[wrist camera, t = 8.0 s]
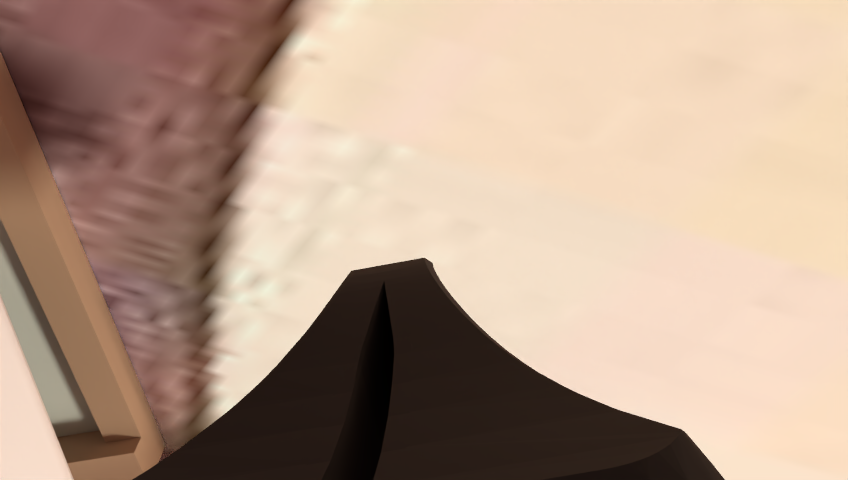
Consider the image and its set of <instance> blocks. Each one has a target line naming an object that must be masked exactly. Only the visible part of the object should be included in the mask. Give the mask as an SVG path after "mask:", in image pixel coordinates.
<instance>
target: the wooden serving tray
mask: <svg viewBox="0 0 848 480" xmlns="http://www.w3.org/2000/svg"><path fill="white" fill-rule="evenodd" d="M0 295H1V297H2V300H3V303H4V305H5V308H6V310H7V313H8V315H9V318H10V320H11V323H12V325H13V328H14V330H15V333H16V335H17V338H18V340H19V343H20V345H21V348H22V350H23V353H24V355H25V358H26V361H27V363H28V366H29V368H30V371H31V373H32V376H33V378H34V381H35V383H36V386H37V388H38V391H39V393H40V396H41V398H42V401H43V403H44V406H45V408H46V411H47V413H48V416H49V419H50V421H51V424H52V426H53V429H54V431H55V434H56V436H57V439H58V441H59V444H60V446H61V449H62V451H63V454H64V456H65V459H66V461H67V464H68V466H69V469H70V471H71V474H72V477H73V479H74V480H132V479H134V478H136V477H137V476H139V475H140V474H142V473H144V472H145V471H147V470H149V469H150V468H152V467H153V466H155V465H156V464H158V463H159V460H160V458H161V455H162V453H163V450H164V448H165V446H166V445H165V442H164V440H163V437H162V435H161V433H160V430H159V428H158V426H157V423H156V421H155V418H154V416H153V414H152V411H151V409H150V407H149V404H148V402H147V399H146V397H145V395H144V392H143V390H142V388H141V385H140V383H139V380H138V378H137V376H136V373H135V371H134V368H133V366H132V364H131V361H130V359H129V357H128V354H127V352H126V349H125V347H124V345H123V342H122V340H121V338H120V335H119V333H118V330H117V328H116V326H115V323H114V321H113V318H112V316H111V314H110V311H109V309H108V307H107V304H106V302H105V299H104V297H103V295H102V292H101V290H100V288H99V285H98V283H97V280H96V278H95V276H94V273H93V271H92V269H91V266H90V264H89V261H88V259H87V257H86V254H85V252H84V249H83V247H82V245H81V242H80V240H79V238H78V235H77V233H76V230H75V228H74V226H73V223H72V221H71V219H70V216H69V214H68V211H67V209H66V207H65V204H64V202H63V199H62V197H61V195H60V192H59V190H58V188H57V185H56V183H55V180H54V178H53V176H52V173H51V171H50V169H49V166H48V164H47V161H46V159H45V157H44V154H43V152H42V149H41V147H40V145H39V142H38V140H37V138H36V135H35V133H34V130H33V128H32V126H31V123H30V121H29V119H28V116H27V114H26V111H25V109H24V107H23V104H22V102H21V100H20V97H19V95H18V92H17V90H16V88H15V85H14V83H13V80H12V78H11V76H10V73H9V71H8V69H7V66H6V64H5V61H4V59H3V57H2V54H1V52H0Z"/></svg>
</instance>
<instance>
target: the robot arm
mask: <svg viewBox="0 0 848 480" xmlns="http://www.w3.org/2000/svg"><path fill="white" fill-rule="evenodd" d="M132 480H724V478H723V477H722V476H721V474H720V473H719V472H718V471H717V469H716V468H715V467H714V466H713V464H712V463H711V462H710V461H709V460H708V458H707V457H706V456H705V455H704V454H703V453H702V451H701V450H700V449H699V448H698V447H697V445H696V444H695V443H694V442H693V441H692V440H691V438H690V437H689V436H688V435H687V434H686V433H685V432H684V431H683V430H681V429H678V428H675V427H672V426H669V425H665V424H662V423H659V422H656V421H652V420H649V419H646V418H643V417H639V416H636V415H633V414H629V413H626V412H623V411H620V410H617V409H614V408H612V407H609V406H607V405H604V404H602V403H600V402H597V401H595V400H592V399H590V398H588V397H585V396H583V395H580V394H578V393H576V392H574V391H572V390H570V389H568V388H566V387H564V386H562V385H560V384H558V383H557V382H555V381H553V380H551V379H549V378H547V377H546V376H544V375H542V374H540V373H538V372H537V371H535V370H534V369H532V368H531V367H529V366H527V365H526V364H524V363H523V362H522V361H520V360H519V359H518V358H516V357H515V356H513V355H512V354H511V353H509V352H508V351H507V350H505V349H504V348H503V347H502V346H501V345H499V344H498V343H497V342H496V341H495V340H494V339H492V338H491V337H490V336H489V335H488V334H487V333H486V332H485V331H484V330H483V329H482V328H480V327H479V326H478V325H477V324H476V323H475V322H474V321H473V320H472V319H471V318H470V317H469V316H468V314H467V313H466V312H465V311H464V310H463V309H462V308H461V306H460V305H459V304H458V303H457V302H456V301H455V300H454V298H453V297H452V296H451V295H450V293H449V292H448V291H447V289H446V288H445V287H444V285H443V284H442V282H441V281H440V279H439V277H438V276H437V274H436V272H435V270H434V268H433V263H432V262H430V261H429V260H427V259H426V258H421V259H415V260H409V261H404V262H398V263H393V264H387V265H381V266H376V267H370V268H365V269H359V270H353V271H351V272H350V273H349V275H348V276H347V277H346V279H345V280H344V281H343V283H342V284H341V285H340V287H339V288H338V290H337V291H336V292H335V294H334V295H333V297H332V298H331V299H330V301H329V302H328V304H327V305H326V306H325V308H324V309H323V310H322V312H321V313H320V315H319V316H318V317H317V318H316V320H315V321H314V322H313V324H312V325H311V326H310V328H309V329H308V330H307V331H306V333H305V334H304V335H303V336H302V337H301V339H300V340H299V341H298V342H297V343H296V344H295V345H294V347H293V348H292V349H291V350H290V351H289V352H288V353H287V355H286V356H285V357H284V358H283V359H282V360H281V361H280V363H279V364H278V365H277V366H276V367H275V368H274V369H273V370H272V371H271V372H270V373H269V374H268V375H267V376H266V377H265V378H264V379H263V380H262V381H261V382H260V383H259V384H258V385H257V386H256V387H255V388H254V389H253V390H252V391H250V392H249V393H248V394H247V395H246V396H245V397H244V398H243V399H242V400H241V401H240V402H238V403H237V404H236V405H235V406H234V407H233V408H232V409H230V410H229V411H228V412H227V413H225V414H224V415H223V416H222V417H220V418H219V419H218V420H216V421H215V422H214V423H212V424H211V425H210V426H209V427H207V428H206V429H205V430H203V431H202V432H201V433H200V434H198V435H197V436H196V437H194V438H193V439H192V440H190V441H189V442H188V443H187V444H185V445H184V446H183V447H181V448H180V449H178V450H177V451H175V452H174V453H173V454H171V455H170V456H168V457H167V458H165V459H164V460H162V461H161V462H159V463H158V464H156V465H155V466H153V467H152V468H150V469H149V470H147V471H145V472H144V473H142V474H140V475H139V476H137V477H136V478H134V479H132Z"/></svg>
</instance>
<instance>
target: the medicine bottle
mask: <svg viewBox="0 0 848 480" xmlns="http://www.w3.org/2000/svg"><path fill="white" fill-rule="evenodd" d="M0 480H74V479H73V477H72V474H71V471H70V469H69V466H68V464H67V461H66V459H65V456H64V454H63V451H62V449H61V446H60V444H59V441H58V439H57V436H56V434H55V431H54V429H53V426H52V424H51V421H50V419H49V416H48V413H47V411H46V408H45V406H44V403H43V401H42V398H41V396H40V393H39V391H38V388H37V386H36V383H35V381H34V378H33V376H32V373H31V371H30V368H29V366H28V363H27V361H26V358H25V355H24V353H23V350H22V348H21V345H20V343H19V340H18V338H17V335H16V333H15V330H14V328H13V325H12V323H11V320H10V318H9V315H8V313H7V310H6V308H5V305H4V303H3V300H2V297H1V295H0Z"/></svg>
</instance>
